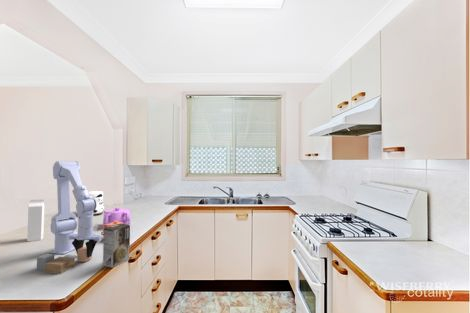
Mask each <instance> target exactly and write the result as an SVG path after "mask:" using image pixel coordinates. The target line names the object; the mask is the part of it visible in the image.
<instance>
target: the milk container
mask: <svg viewBox="0 0 470 313" xmlns="http://www.w3.org/2000/svg"><path fill="white" fill-rule="evenodd" d="M88 192H89V194H90V196H91V197H93V198H94V199H95V200H96V209H95V210H94V211H93V216H97V215H100V214H103V213H104V210H105V205H104V191H102V190H101V191H100V190H88Z"/></svg>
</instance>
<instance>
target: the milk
mask: <svg viewBox="0 0 470 313" xmlns="http://www.w3.org/2000/svg"><path fill="white" fill-rule="evenodd" d="M27 209H28V211H27V212H28V213H27V237H26V238H27V241H26V242H37V241H42V240H43V238H44V232H45V230H44V229H45V228H44V227H45V202H44V199H30V201H29V205H28V208H27Z"/></svg>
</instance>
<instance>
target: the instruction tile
mask: <svg viewBox="0 0 470 313" xmlns="http://www.w3.org/2000/svg"><path fill="white" fill-rule="evenodd" d="M63 257H73V258H75V259H77V254H76V255H74V254H66V255H64V256H63Z"/></svg>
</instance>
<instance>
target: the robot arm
mask: <svg viewBox="0 0 470 313" xmlns="http://www.w3.org/2000/svg"><path fill="white" fill-rule="evenodd" d="M80 173H81V164H80V163H79V161H59V160H58V161H55V163H53V166H52V176H53V179H55V180H56V187H57V192H56V193H57V211H58V213H57V214H55V215H54V216H52V218H51V223H50V232H51V233H52V234H53V235H54V249H53V250H51V251H49V254H59V255H65V254H66V255H67V254H68V253H69V252H72V251H74V250H75V252H76V253H77V250H78V249H80V248H82V247H84V245H85V247H86V248H87V257H90V256H92V257H93V252H94V249H95V246H96V245H97V243H99V242H101V241H102V239H103V235H98V234H93V233H94V215H93V211H94V210H95V209H96V200H95V199H94V198H93V197H91V196H90V194H89V192H88V191H89V190H88V188H87V186H86V185H83V183H82V179H81V175H80ZM70 184H71V185H72V187H73V189H72V192H71V193H72V194H73V196H74V199H75V202H76V205H75V209H76V214H75V213H73V212H72V211H71V197H70V196H71V195H70ZM76 215H77V216H76ZM77 217H78V220H77ZM76 229H77V231H76ZM85 241H86V242H85Z"/></svg>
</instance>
